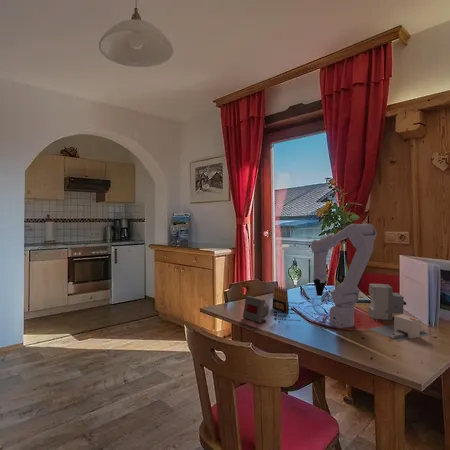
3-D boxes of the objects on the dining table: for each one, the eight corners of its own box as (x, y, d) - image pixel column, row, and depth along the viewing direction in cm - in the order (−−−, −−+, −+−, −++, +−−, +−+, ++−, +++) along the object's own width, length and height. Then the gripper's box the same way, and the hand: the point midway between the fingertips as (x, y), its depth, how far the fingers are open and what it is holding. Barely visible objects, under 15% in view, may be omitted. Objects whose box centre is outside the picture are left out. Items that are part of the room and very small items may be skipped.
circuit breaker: (407, 322, 143) (407, 288, 143) (372, 320, 146) (372, 286, 146) (401, 317, 150) (402, 284, 150) (368, 315, 153) (368, 283, 153)
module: (411, 338, 122) (411, 320, 122) (394, 332, 129) (394, 314, 129) (419, 336, 124) (419, 318, 124) (401, 330, 131) (402, 313, 130)
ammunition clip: (272, 308, 165) (272, 284, 165) (275, 307, 166) (275, 284, 166) (285, 313, 156) (285, 288, 155) (288, 313, 156) (289, 288, 156)
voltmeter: (240, 322, 142) (240, 299, 142) (244, 315, 153) (244, 293, 153) (303, 327, 136) (304, 303, 136) (303, 319, 147) (303, 297, 147)
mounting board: (398, 343, 119) (398, 341, 119) (367, 331, 132) (367, 329, 132) (431, 336, 126) (431, 334, 126) (399, 325, 139) (399, 323, 139)
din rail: (393, 338, 122) (393, 335, 122) (387, 336, 124) (387, 333, 124) (424, 332, 129) (424, 329, 128) (418, 330, 131) (418, 327, 131)
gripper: (332, 268, 145) (331, 299, 145) (325, 264, 159) (325, 292, 159) (315, 268, 145) (315, 298, 146) (310, 263, 160) (310, 291, 160)
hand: (319, 295), depth 152 cm, fingers closed
